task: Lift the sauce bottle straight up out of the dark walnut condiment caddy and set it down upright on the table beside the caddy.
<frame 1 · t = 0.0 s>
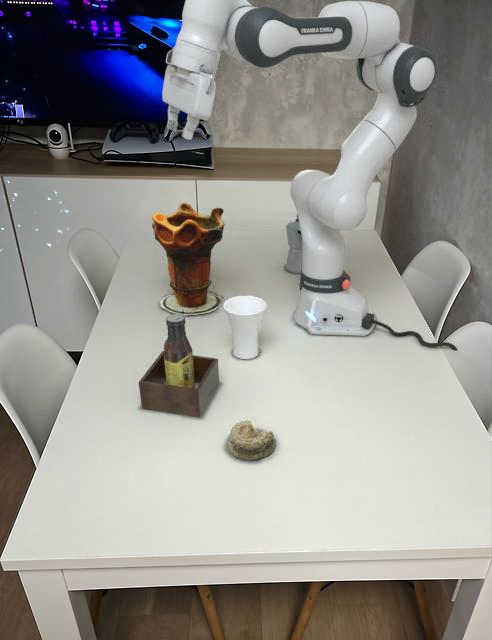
hand: (178, 134, 128), 52 cm above the table, tool tilted 20°, fingers open, 8 cm apart
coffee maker: (298, 267, 201), on the table
cake: (251, 446, 125), on the table
caddy: (181, 395, 139), on the table
sauce bottle: (181, 396, 139), resting in caddy
decorative vase: (192, 302, 179), on the table
cup: (245, 353, 155), on the table
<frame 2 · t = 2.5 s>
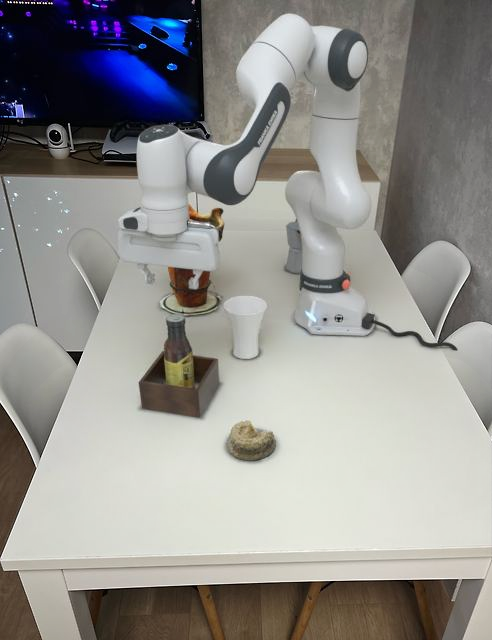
hand: (171, 285, 124), 27 cm above the table, tool pointing down, fingers open, 8 cm apart
nothing on the table moved.
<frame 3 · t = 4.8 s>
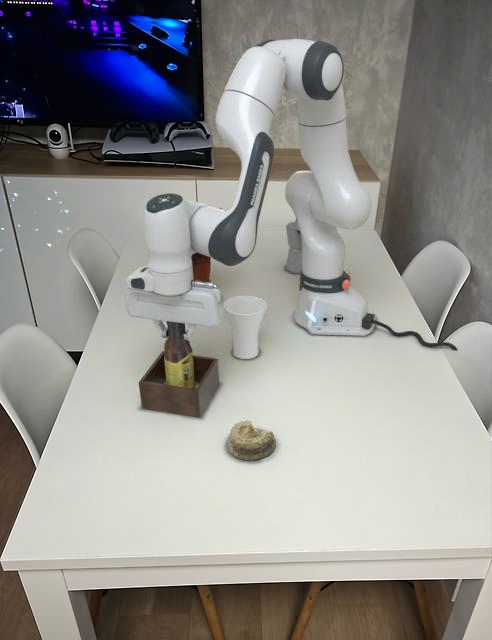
hand: (176, 338, 131), 15 cm above the table, tool pointing down, fingers closed on sauce bottle, 4 cm apart
sauce bottle: (181, 396, 139), resting in caddy, touching gripper
everything else where it was.
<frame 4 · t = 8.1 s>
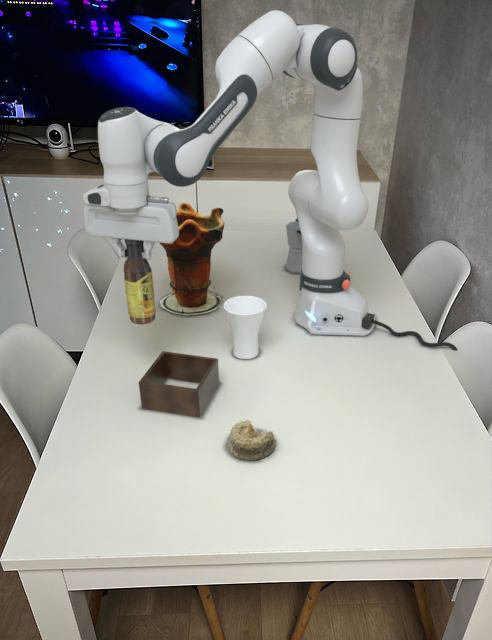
hand: (135, 257, 133), 28 cm above the table, tool pointing down, fingers closed on sauce bottle, 4 cm apart
sauce bottle: (143, 320, 142), point 13 cm above the table, touching gripper
everything else where it was.
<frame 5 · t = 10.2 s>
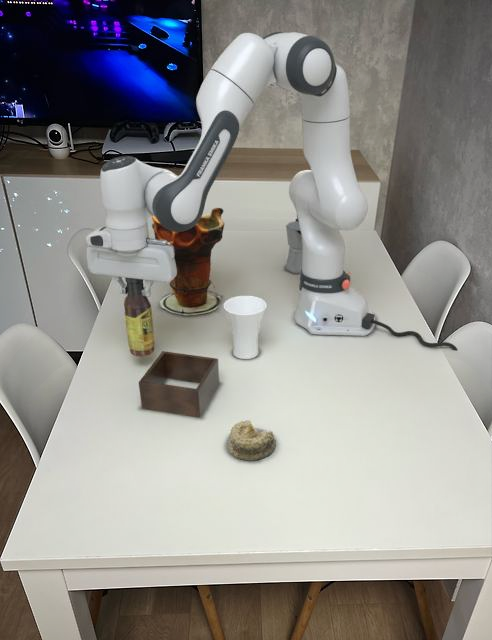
hand: (135, 294, 140), 19 cm above the table, tool pointing down, fingers closed on sauce bottle, 4 cm apart
sauce bottle: (142, 351, 149), point 3 cm above the table, touching gripper
everything else where it was.
when the fingers open (15 cm above the table, at t = 11.5 s): sauce bottle stays where it is, on the table.
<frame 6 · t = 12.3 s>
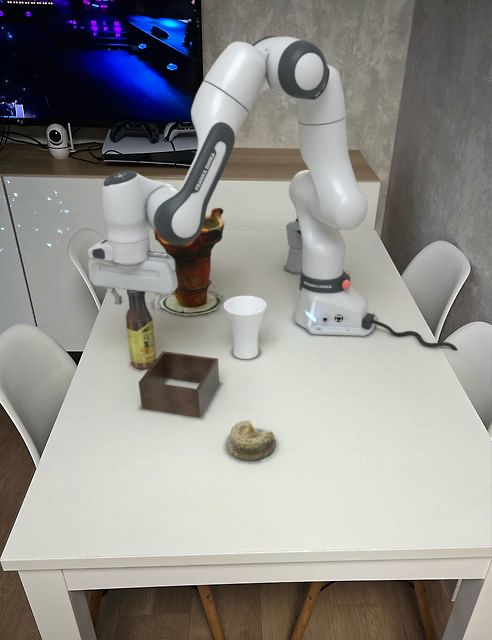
hand: (136, 305, 142), 16 cm above the table, tool pointing down, fingers open, 8 cm apart
sauce bottle: (144, 363, 151), on the table
everything else where it was.
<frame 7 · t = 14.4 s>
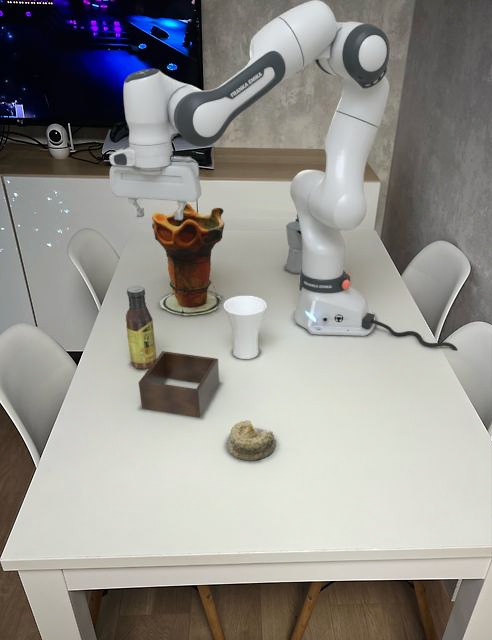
hand: (159, 217, 139), 34 cm above the table, tool pointing down, fingers open, 8 cm apart
nothing on the table moved.
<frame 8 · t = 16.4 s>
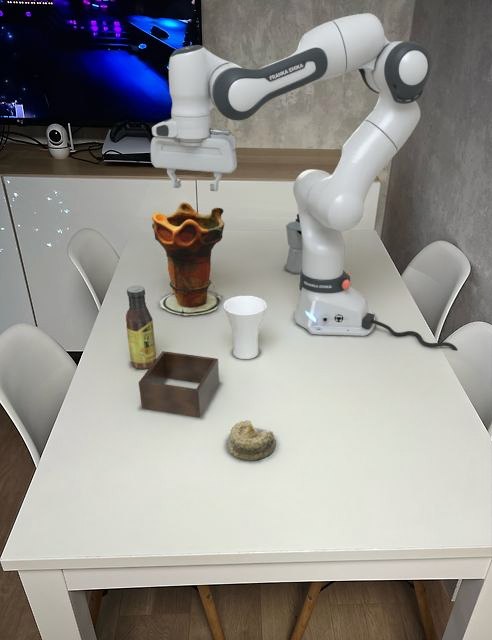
hand: (195, 188, 146), 37 cm above the table, tool pointing down, fingers open, 8 cm apart
nothing on the table moved.
at the end: sauce bottle inside the target area (0.1 cm from its centre), on the table; sauce bottle tilted 0°; the gripper is holding nothing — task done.
